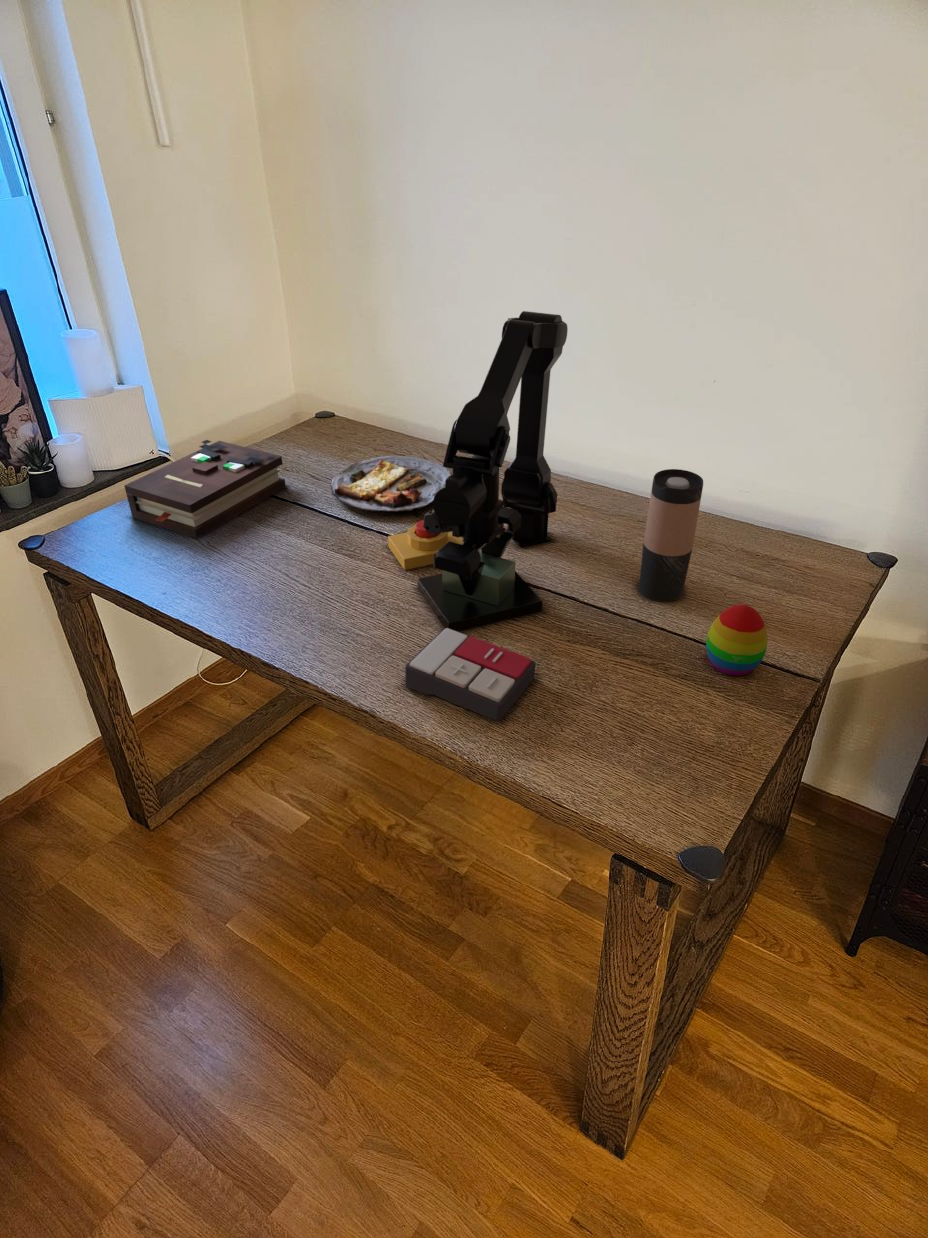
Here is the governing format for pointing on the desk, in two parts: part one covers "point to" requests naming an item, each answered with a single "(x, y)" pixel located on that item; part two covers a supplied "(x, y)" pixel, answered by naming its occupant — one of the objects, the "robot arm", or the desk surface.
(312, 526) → the desk surface
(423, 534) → the button
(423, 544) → the button block
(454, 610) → the black square platform
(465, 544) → the robot arm
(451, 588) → the box
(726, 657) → the decorative egg
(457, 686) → the calculator
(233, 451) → the decorative book
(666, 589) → the travel mug
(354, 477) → the food plate
